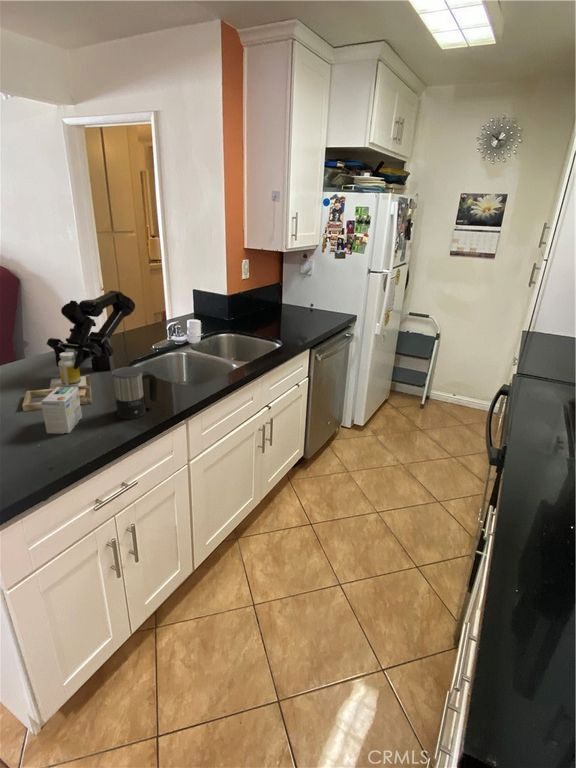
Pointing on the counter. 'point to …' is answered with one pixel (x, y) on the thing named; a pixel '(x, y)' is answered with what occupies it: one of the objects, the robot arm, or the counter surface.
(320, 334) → the counter surface
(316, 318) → the counter surface
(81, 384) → the pale grey mat
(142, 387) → the milk frother
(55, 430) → the light bulb box
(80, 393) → the offcut stack
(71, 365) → the pill bottle
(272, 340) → the counter surface
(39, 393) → the birch rack
